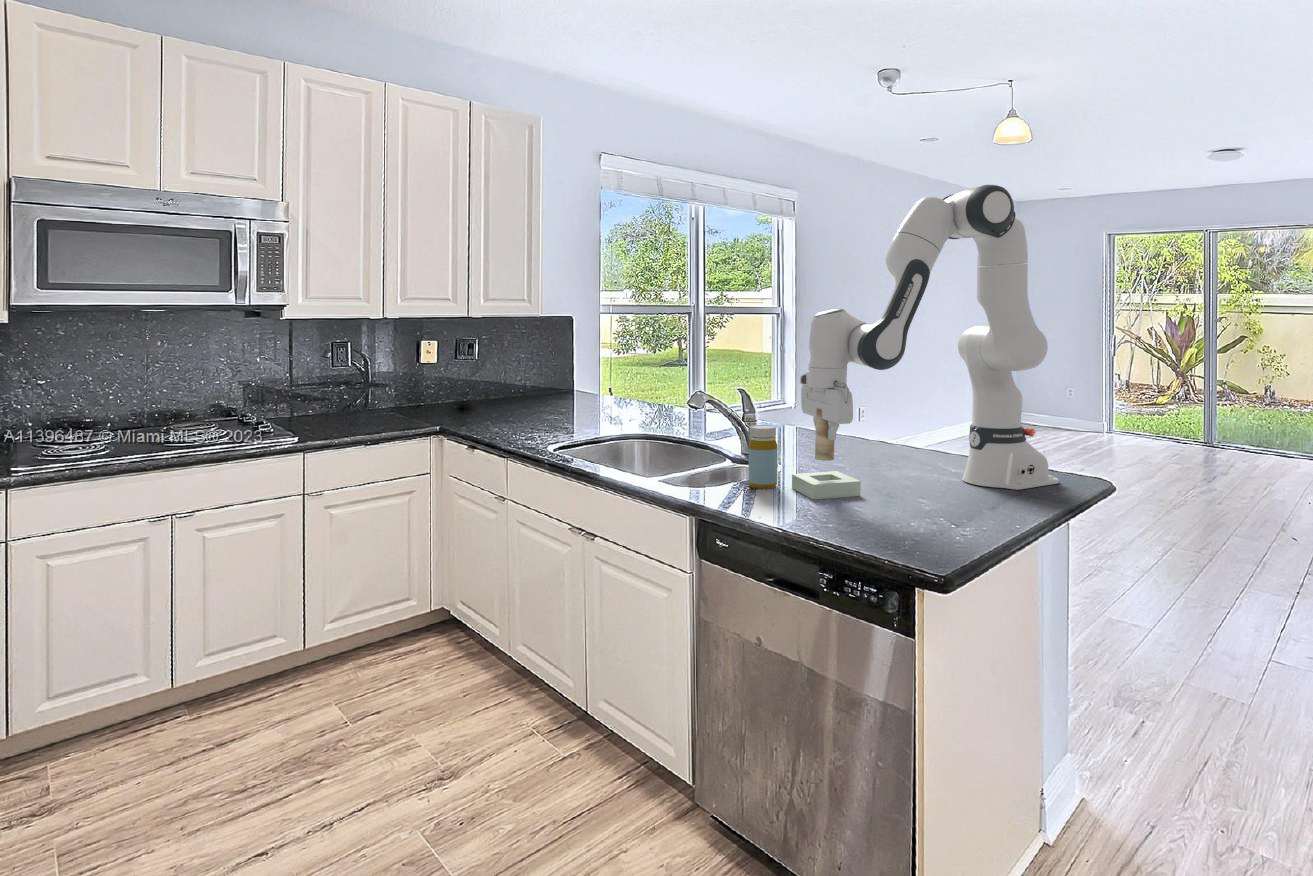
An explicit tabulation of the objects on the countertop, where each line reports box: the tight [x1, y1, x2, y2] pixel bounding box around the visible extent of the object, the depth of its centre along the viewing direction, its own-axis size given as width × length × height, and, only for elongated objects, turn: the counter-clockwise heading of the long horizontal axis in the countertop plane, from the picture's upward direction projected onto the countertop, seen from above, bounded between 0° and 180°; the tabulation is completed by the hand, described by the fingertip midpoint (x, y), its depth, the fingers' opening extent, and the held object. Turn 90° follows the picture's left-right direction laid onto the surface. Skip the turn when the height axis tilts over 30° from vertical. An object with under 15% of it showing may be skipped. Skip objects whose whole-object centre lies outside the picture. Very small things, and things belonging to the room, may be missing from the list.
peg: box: [814, 408, 836, 461], centre depth 184 cm, size 4×4×12 cm
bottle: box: [748, 424, 779, 490], centre depth 192 cm, size 7×7×15 cm
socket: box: [791, 470, 862, 500], centre depth 186 cm, size 12×12×4 cm
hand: (825, 437), depth 184 cm, fingers closed on peg, 4 cm apart
